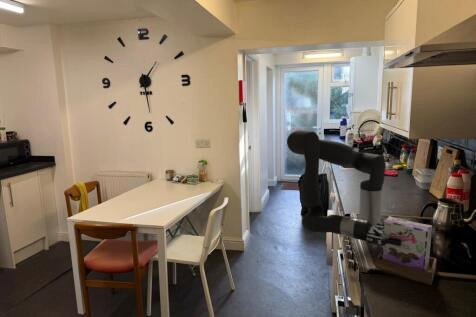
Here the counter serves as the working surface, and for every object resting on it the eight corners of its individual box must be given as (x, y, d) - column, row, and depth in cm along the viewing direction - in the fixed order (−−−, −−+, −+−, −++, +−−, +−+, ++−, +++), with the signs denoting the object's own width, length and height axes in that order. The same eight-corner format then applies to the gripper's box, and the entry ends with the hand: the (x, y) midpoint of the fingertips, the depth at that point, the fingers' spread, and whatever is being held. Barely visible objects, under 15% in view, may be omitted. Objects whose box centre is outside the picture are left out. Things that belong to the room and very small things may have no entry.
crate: (383, 256, 121) (383, 246, 120) (435, 269, 111) (436, 258, 110) (375, 269, 112) (375, 259, 111) (431, 285, 102) (432, 273, 101)
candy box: (380, 264, 114) (382, 220, 111) (386, 258, 118) (388, 215, 115) (423, 278, 104) (427, 230, 101) (428, 271, 109) (432, 224, 105)
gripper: (349, 225, 113) (400, 235, 104) (361, 212, 124) (408, 221, 115) (348, 245, 115) (398, 257, 105) (360, 231, 126) (407, 240, 116)
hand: (403, 238), depth 110 cm, fingers open, 8 cm apart
